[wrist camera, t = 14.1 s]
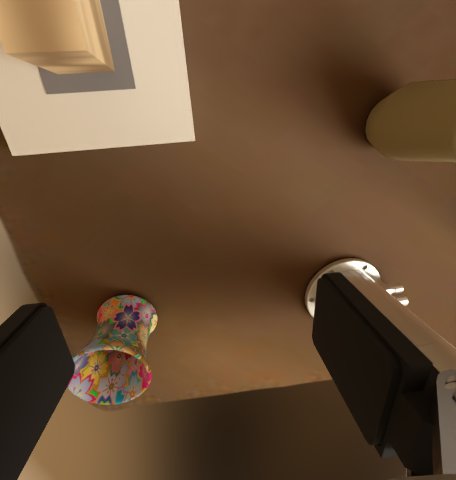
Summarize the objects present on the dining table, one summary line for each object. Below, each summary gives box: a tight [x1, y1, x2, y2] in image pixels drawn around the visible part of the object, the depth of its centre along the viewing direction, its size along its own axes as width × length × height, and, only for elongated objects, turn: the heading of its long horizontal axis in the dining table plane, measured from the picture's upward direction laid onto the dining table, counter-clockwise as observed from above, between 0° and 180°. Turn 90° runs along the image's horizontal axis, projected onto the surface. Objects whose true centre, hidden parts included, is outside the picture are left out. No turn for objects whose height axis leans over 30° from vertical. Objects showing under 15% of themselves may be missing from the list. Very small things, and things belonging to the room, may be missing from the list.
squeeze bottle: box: [365, 79, 456, 162], centre depth 23 cm, size 8×8×18 cm
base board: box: [0, 0, 195, 156], centre depth 23 cm, size 18×18×3 cm
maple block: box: [0, 0, 115, 74], centre depth 18 cm, size 5×5×7 cm
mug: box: [67, 295, 157, 405], centre depth 34 cm, size 12×9×11 cm
